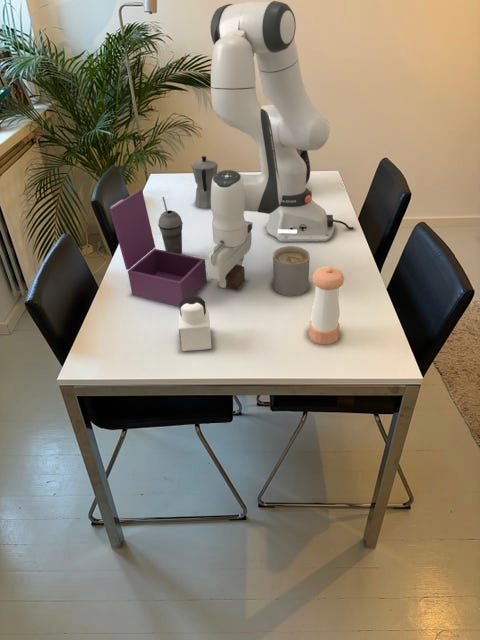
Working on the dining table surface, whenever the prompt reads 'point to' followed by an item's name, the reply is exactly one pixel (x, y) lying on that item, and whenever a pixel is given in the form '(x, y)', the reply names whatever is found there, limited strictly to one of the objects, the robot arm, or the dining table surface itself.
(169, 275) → the box
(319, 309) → the salt shaker
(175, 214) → the beverage cup
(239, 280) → the block
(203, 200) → the coffeepot
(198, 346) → the bust figurine
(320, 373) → the dining table surface
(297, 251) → the coffee mug
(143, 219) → the box file lid
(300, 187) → the robot arm
